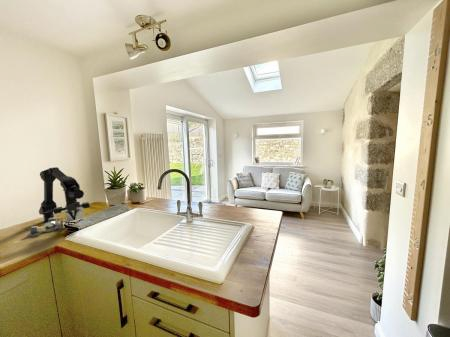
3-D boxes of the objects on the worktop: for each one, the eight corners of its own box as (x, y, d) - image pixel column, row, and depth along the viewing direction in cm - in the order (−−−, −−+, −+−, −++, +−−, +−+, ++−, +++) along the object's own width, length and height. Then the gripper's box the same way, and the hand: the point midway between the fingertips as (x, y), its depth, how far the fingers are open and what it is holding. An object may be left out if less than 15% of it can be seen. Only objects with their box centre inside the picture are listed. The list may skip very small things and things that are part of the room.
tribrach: (32, 228, 134) (31, 221, 134) (72, 219, 147) (71, 213, 146) (26, 238, 119) (25, 230, 118) (71, 227, 132) (70, 221, 131)
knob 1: (28, 233, 122) (27, 228, 121) (34, 230, 126) (33, 225, 125) (41, 232, 122) (41, 227, 122) (47, 229, 126) (46, 225, 125)
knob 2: (48, 224, 135) (47, 219, 135) (49, 222, 139) (48, 218, 138) (63, 221, 140) (62, 216, 140) (63, 219, 143) (62, 215, 143)
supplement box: (75, 223, 140) (72, 206, 138) (66, 222, 141) (64, 205, 140) (84, 219, 147) (82, 202, 145) (76, 218, 148) (73, 202, 147)
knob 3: (61, 225, 133) (60, 220, 132) (68, 223, 135) (68, 218, 135) (60, 228, 126) (59, 224, 126) (68, 227, 129) (67, 222, 128)
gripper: (50, 203, 118) (54, 227, 120) (88, 197, 129) (91, 219, 131) (52, 199, 126) (56, 222, 128) (87, 193, 137) (90, 215, 139)
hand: (74, 220), depth 131 cm, fingers closed
